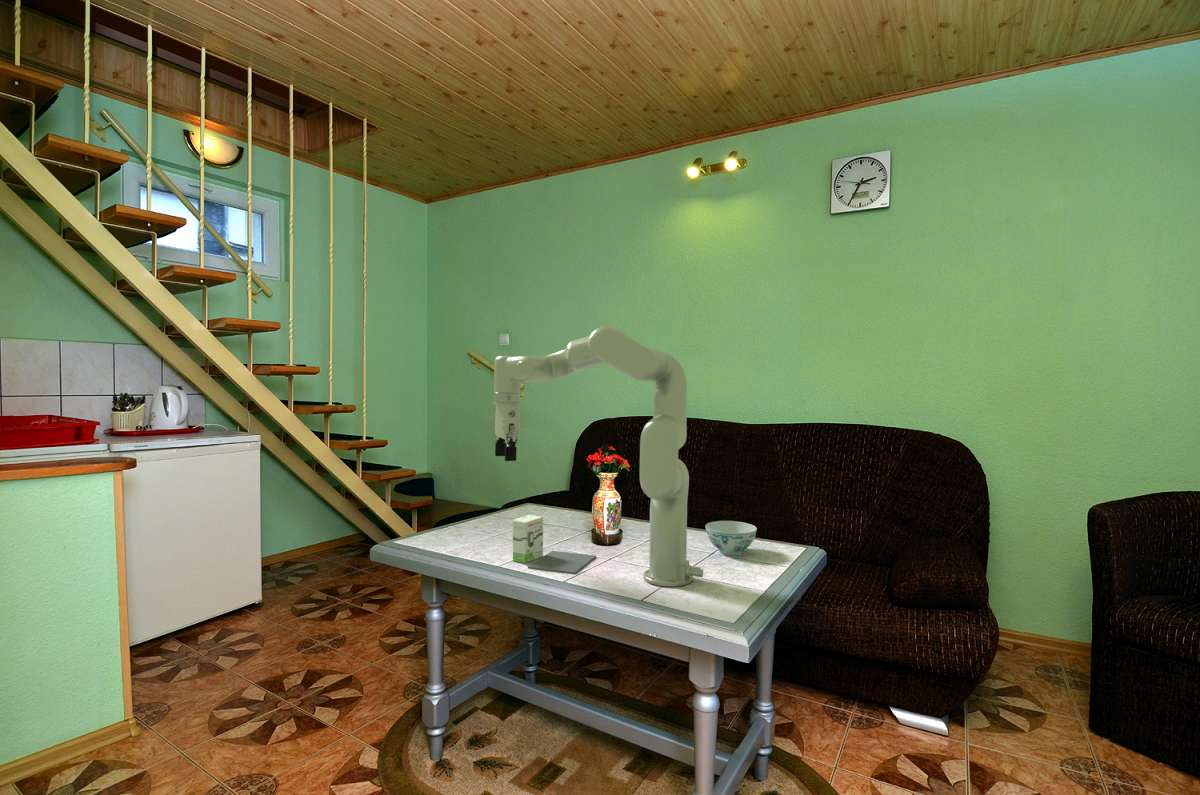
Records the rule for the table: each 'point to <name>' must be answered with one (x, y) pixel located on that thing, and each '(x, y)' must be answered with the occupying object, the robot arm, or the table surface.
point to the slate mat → (562, 562)
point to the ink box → (527, 538)
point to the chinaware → (731, 536)
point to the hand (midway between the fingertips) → (505, 458)
